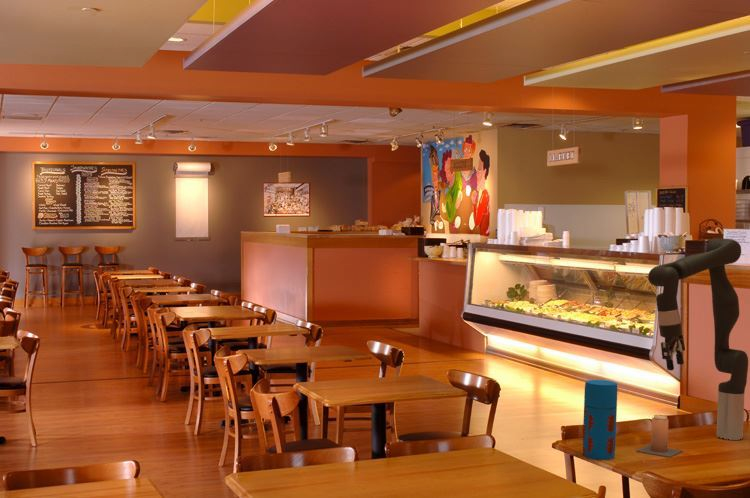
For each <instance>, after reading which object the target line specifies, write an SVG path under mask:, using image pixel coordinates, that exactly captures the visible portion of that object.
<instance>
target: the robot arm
mask: <svg viewBox="0 0 750 498" xmlns="http://www.w3.org/2000/svg"><path fill="white" fill-rule="evenodd" d="M705 247H706V249H705V252H700V253H695V254H691V255H687V256H684V257H682V258H679V259H677V260H675V261H673V262H668V263H664V264H663V263H662V264H660V265H656V266H654V267H653V268H651V269H650V270H649V272H648V275H647V277H648V281H649V283H650V284H651V285H652V286H655V287H663V290H662V292H661V293H659V294H657V295H656V298H655V299H656V300H655V301H656V308H657V309H656V310H657V321H658V329H659V334H660V335H659V336H660V337H662V338H664V342H663V341H662V342H660V349H661V358H662V360H665V363H666V369H667V370H668V371H674V370H675V366H674V354H675V358H676V364H677V365H683V364H684V356H683V355H684V351H685V350H686V347H685V340H684V335H683V328H682V322H681V321H682V320H681V316H680V315H681V314H680V310H679V306H678V299H677V298H678V291H679V290H678V289H679V283H680V280H684V279H686V278H689V277H692V276H693V275H696V274H699V273H702V272H704V271H707V270H708V272H709V278H710V287H711V299H712V300H711V303H712V305H711V306H712V314H713V322H714V323H713V326H714V328H713V329H714V364H715V365H714V366H715V368H716V370H717V371H718V372H719V373H720V372H721V373H724V374H730V379H728V380H727V381H723V382H719V384H718V387H717V388H718V391H717V392H718V393H717V413H716V414H717V415H716V435H717V436H716V438H719V437H720V438H719V439H722V438H724V439H723V440H728V439H729V440H728V441H740V439H741V440H743V439H744V438H743V437H744V434H743V433H744V417H745V415H744V414H745V413H744V411H745V393H746V392H745V391H746V386H747V383H748V372H749V371H748V370H749V357H748V354H747V353H746V351H744V350H742V349H741V350H739V349H735V348H734V349H733V348H730V335H731V332H732V330H733V329H734V327H735V325H736V323H737V321H738V319H739V317H740V303H739V296H738V294H737V291H736V290H735V288H734V286H733V284H732V283H731V282H730V280H729V278H728V276H727V273H726V267H725V266H726V265H731V264H734V263H736V262H737V261H738V260H740V258H741V256H742V247H741V244H740V243H739V242H738V241H737V240H734V239H731V238H721V237H720V238H719V237H717V238H715V237H714V238H711V239H710V240H709V241H708V242H707V244H706V246H705ZM742 438H743V439H742Z"/></svg>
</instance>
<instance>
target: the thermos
mask: <svg viewBox="0 0 750 498" xmlns="http://www.w3.org/2000/svg"><path fill="white" fill-rule="evenodd" d="M618 389H619V388H618V383H617V382H615V381H612V380H604V379H589V380H585V383H584V398H583V399H584V401H583V429H582V456H583V457H585V458H588V459H591V460H600V461H601V460H602V461H605V460H613V459H614V458H615V455H616V454H615V453H616V438H617V437H616V435H617V417H618V416H617V414H618V413H617V411H618V407H617V406H618Z"/></svg>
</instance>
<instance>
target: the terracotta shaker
mask: <svg viewBox="0 0 750 498" xmlns="http://www.w3.org/2000/svg"><path fill="white" fill-rule="evenodd" d="M650 436H651V439H650V445H651V450H652V451H654V452H667V448H669V447H668V445H669V442H668V441H669V419H668V416H667V415H662V414H654V415H653V417H652V418H651V435H650Z"/></svg>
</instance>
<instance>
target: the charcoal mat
mask: <svg viewBox="0 0 750 498" xmlns="http://www.w3.org/2000/svg"><path fill="white" fill-rule="evenodd" d="M636 451H637V452H636ZM635 452H636V453H641V452H642V454H646V453H647V454H648V455H653V456H657V455H658V456H657V457H663V458H668V459H670V458H672V457H674V456H677V455H679V454H681V453H682V452H684V451H683V450H681V449H677V448H670V447H668V448H667V452H654V451H652V450H651V444H648V445H645V446H643V447H642V448H641V447H640V448H639V449H637V450H635Z"/></svg>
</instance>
